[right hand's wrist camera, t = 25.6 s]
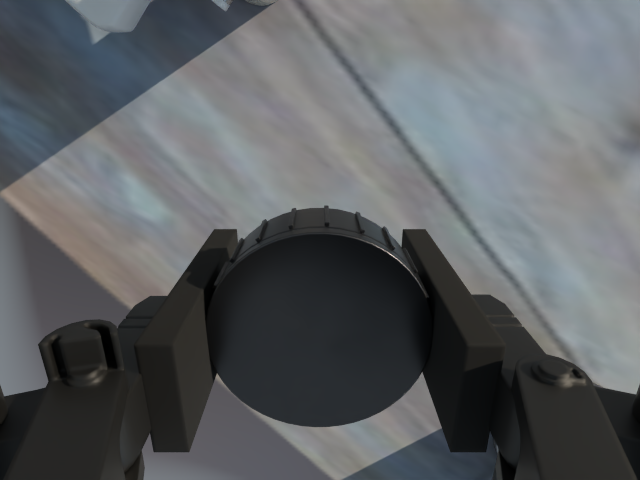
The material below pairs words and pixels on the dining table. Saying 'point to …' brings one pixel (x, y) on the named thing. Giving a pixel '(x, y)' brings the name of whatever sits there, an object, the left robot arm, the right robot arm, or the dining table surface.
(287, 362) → the lid
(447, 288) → the right robot arm
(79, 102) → the dining table surface
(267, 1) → the white tall cylinder
